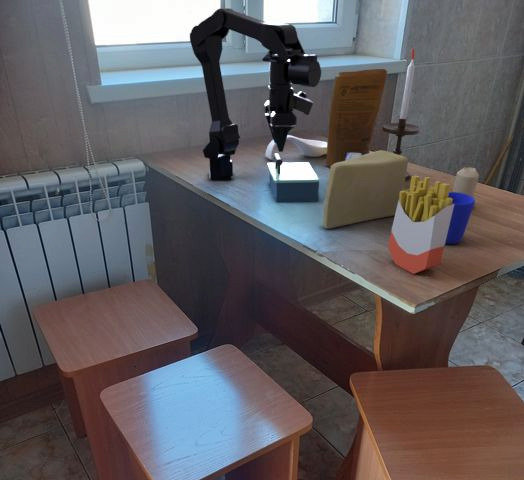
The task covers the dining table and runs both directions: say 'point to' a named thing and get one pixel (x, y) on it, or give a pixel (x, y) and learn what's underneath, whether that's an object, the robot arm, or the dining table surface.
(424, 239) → the french fries container
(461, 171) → the candle
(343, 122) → the pancake mix bag
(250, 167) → the dining table surface
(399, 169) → the cheese
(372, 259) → the dining table surface
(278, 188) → the lunchbox
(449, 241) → the mug
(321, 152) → the spoon rest
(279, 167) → the lunchbox lid
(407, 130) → the candlestick
